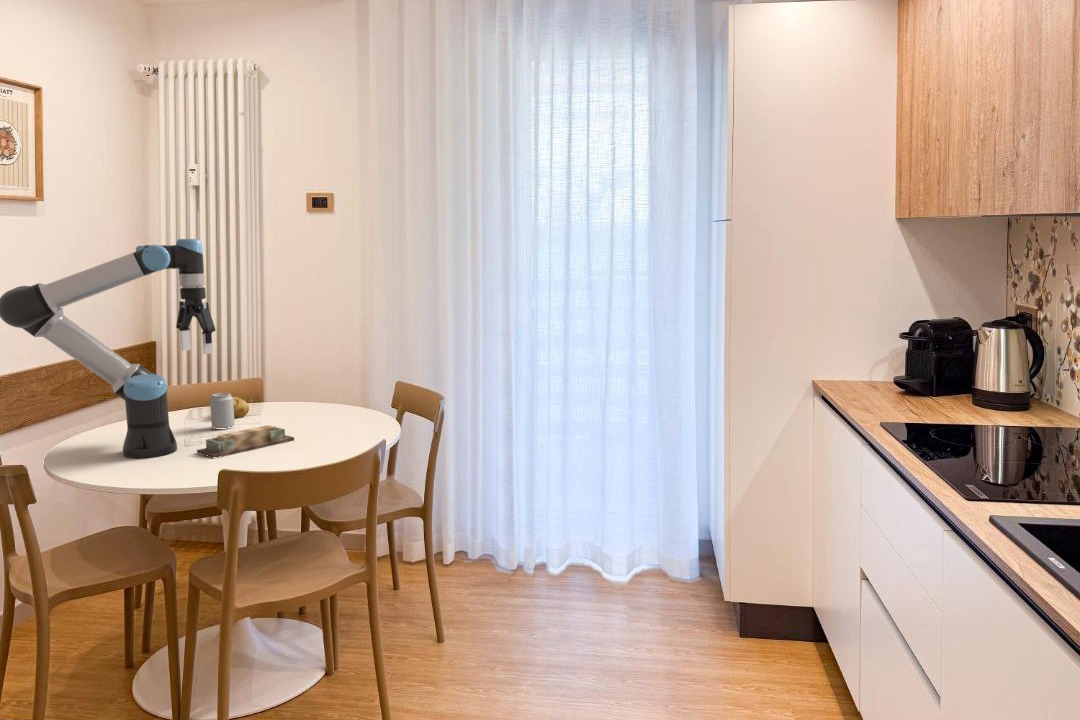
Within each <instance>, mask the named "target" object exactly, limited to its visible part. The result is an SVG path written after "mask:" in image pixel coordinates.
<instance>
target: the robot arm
mask: <svg viewBox="0 0 1080 720" xmlns="http://www.w3.org/2000/svg"><path fill="white" fill-rule="evenodd" d="M204 265H205V264H204V253H203V243H202V240H200V239H198V238H178V239H177V240H176V244H174V245H173V244H171V245H165V244H163V245H159V244H152V245H150V244H145V245H138V246H136V247H135V251H134V252H131V253H129V254H125V255H123V256H120V257H117V258H114V259H111V260H109V261H107V262H104V263H101V264H98V265H95V266H93V267H90V268H87V269H85V270H82V271H79V272H76V273H74V274H70V275H68V276H65V277H63V278H61V279H57V280H54V281H51V282H49V283H47V284H44V283H41V282H38V283H35V284H33V285H22V286H21V285H20V286H17V287H15V288H12V289H10V290H8V291H5V292H4V293H3V294H2V295H1V296H0V319H1V320H2V321H3V322H4V323H6V324H7V325H9V326H11V327H14V328H19V329H22V330H24V331H25V332H27V333H28V334H29V335H31V336H32V337H34V338H45V339H46V340H47V341H48V342H50V343H52V344H53V345H55V346H56V347H57V348H59V349H60V350H61V351H63V352H65V353H66V354H68V356H69V357H71V358H73V359H74V360H75V361H77V362H79V363H80V364H81V365H83V366H84V367H86V368H87V369H88V370H90V371H91V372H93V373H94V374H96V376H98V377H100V378H101V379H102V380H104V381H106V382H107V383H108V384H110V385H111V386H112V391H113V393H114V394H115V395H116V396H118V397H119V398H121V399H122V400H124V402H125V413H126V414H125V415H126V425H127V427H126V428H127V430H126V435H125V438H124V442H123V445H122V454H123V456H124V457H126V458H132V459H133V458H135V459H142V458H143V459H144V458H145V459H146V458H154V457H159V456H165V455H168V454H172V453H175V452H176V451H177V450H178V443H177V439H176V437H175V435H174V433H173V431H172V429H171V425H170V420H169V419H170V418H169V405H168V385H167V382H166V379H165V377H164V376H162V375H158V374H156V373H155V372H151V371H149V370H148V369H147V368H145V366H142V365H141V364H140V363H134V364H132V363H130V362H128V361H127V360H126V359H125V358H124V357H122V356H121V355H119V354H118V353H116V351H113V349H111V348H110V347H108V346H107V345H105V344H104V343H103V342H101V341H100V340H99V339H97V338H96V337H95V336H93V335H92V334H90V333H89V332H88V331H86V330H85V329H83V328H82V327H81V326H79V325H78V324H77V323H75V322H74V321H72V320H71V319H69V318H68V317H67V316H65V314H64V309H63V307H67V306H69V305H72V304H74V303H78V302H79V301H82V300H85V299H88V298H90V297H92V296H93V297H94V296H96V295H98V294H101V293H104V292H106V291H109V290H111V289H114V288H116V287H118V286H122V285H124V284H127V283H130V282H132V281H135V280H137V279H140V278H142V277H145V276H148V275H151V274H153V273H156V272H161V271H163V270H170V269H171V270H176V269H178V280H179V281H178V282H179V286H180V287H181V288H180V289H179V292H180V293H179V294H180V299H181V300H180V301H179V304H178V305H179V308H178V314H177V320H176V325H175V327H176V329H178V330H179V331H180V341H181V351H182V352H183V351H191V350H192V346H191V344H192V343H191V334H190V333H191V331H190V330H191V329H190V324H191V322H192V320H193V317H194V318H196V320H197V322H198V323H199V326H200V328H201V330H202V332H201V337H202V350H203V355H208V354H213V339H212V337H213V336H212V334H213V332H216V326H215V323H214V320H213V318H212V315H211V311H210V306H209V302H206V301H205V302H203V300H205V299H206V296H207V295H206V293H207V292H206V288H205V287H204V286H205V285H206V283H205V282H206V281H205V278H206V277H205V268H204Z"/></svg>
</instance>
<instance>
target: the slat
mask: <svg viewBox="0 0 1080 720" xmlns="http://www.w3.org/2000/svg"><path fill="white" fill-rule="evenodd" d="M276 427H277V426H274V425H271V424H270V425H262V426H258V427H254V428H249V429H242V430H238V431H232V432H228V433H224V434H223V433H222V434H218V435H216V436H217V437H218V442H222V441H227V440H234V448H237V447H242V446H246V445H251V444H255V443H260V442H264V441H269V440H270V434H269V432H270V431H275V430H276Z"/></svg>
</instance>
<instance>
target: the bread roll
mask: <svg viewBox="0 0 1080 720" xmlns="http://www.w3.org/2000/svg"><path fill="white" fill-rule="evenodd" d="M232 397H233V407H234V419H237V417H238V418H242V417H245V416H247V414H248V413H249V411H250V406H249V404H248V403H247V401H245V399H242V398H240V397H237V396H232Z"/></svg>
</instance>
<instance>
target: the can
mask: <svg viewBox="0 0 1080 720" xmlns="http://www.w3.org/2000/svg"><path fill="white" fill-rule="evenodd" d="M233 397H234V396H232V395H231V393H229V392H221V393H220V392H219V393H214V394H211V397H210V400H209V404H210V405H209V406H210V416H211V427H212V428H213V427H215V428H228V427H232V426H233V427H234V426H235V418H234V407H233ZM233 427H232V428H233Z"/></svg>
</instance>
